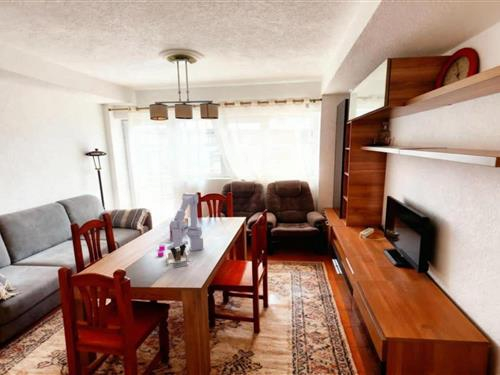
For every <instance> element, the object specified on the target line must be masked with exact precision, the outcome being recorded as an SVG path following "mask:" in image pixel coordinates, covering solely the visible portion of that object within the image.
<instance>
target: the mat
mask: <svg viewBox="0 0 500 375" xmlns="http://www.w3.org/2000/svg"><path fill="white" fill-rule="evenodd" d="M172 266H173V269H179V268H184V267H188V266H189V265H188V262H187V261H183V262H178V263H172Z"/></svg>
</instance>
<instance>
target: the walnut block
mask: <svg viewBox="0 0 500 375" xmlns="http://www.w3.org/2000/svg"><path fill="white" fill-rule="evenodd" d="M175 249H176V259H175V258H174V259H175V261H177V260H181V254H180V247H176V248H175Z"/></svg>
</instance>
